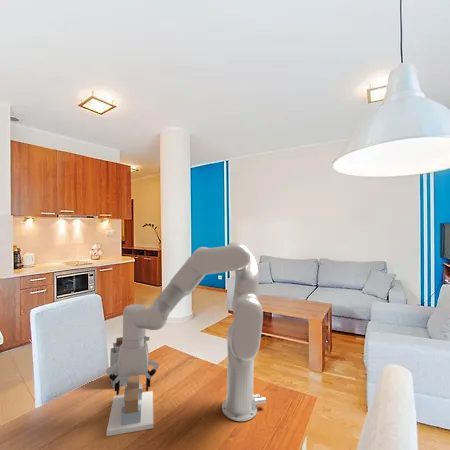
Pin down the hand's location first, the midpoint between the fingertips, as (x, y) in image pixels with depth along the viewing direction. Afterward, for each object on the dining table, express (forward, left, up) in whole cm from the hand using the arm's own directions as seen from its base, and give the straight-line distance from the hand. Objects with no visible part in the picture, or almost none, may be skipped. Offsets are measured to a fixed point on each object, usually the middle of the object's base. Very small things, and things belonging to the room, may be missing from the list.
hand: (132, 390), depth 95 cm
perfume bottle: (+6, -21, -8) cm, 23 cm away
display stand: (0, 0, -8) cm, 8 cm away
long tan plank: (0, 0, -2) cm, 2 cm away
